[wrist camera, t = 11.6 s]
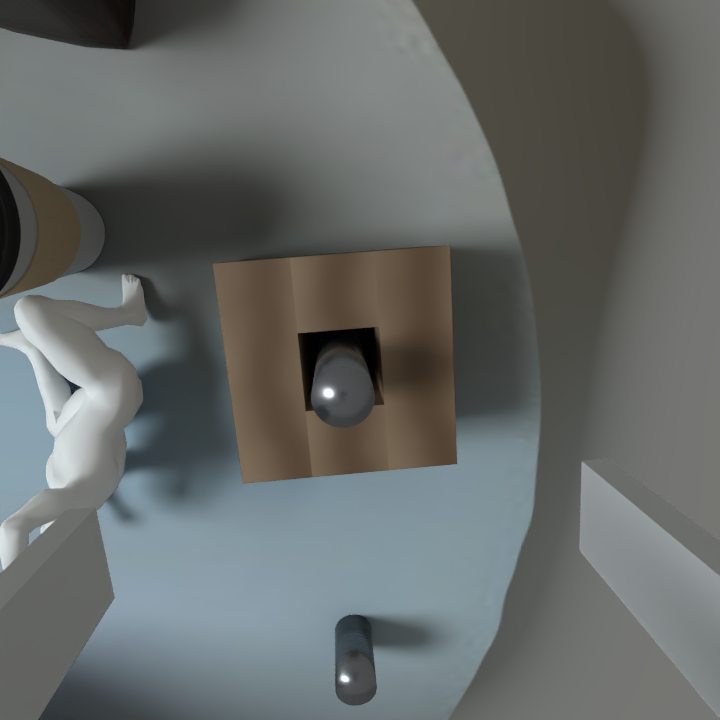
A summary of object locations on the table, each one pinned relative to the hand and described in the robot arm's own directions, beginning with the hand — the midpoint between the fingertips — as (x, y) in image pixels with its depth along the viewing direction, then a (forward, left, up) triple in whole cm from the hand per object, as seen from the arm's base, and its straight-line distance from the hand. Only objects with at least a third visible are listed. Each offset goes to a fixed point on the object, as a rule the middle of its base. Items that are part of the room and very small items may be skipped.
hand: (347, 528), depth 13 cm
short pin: (-1, -26, -26) cm, 36 cm away
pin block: (0, 0, -26) cm, 26 cm away
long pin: (0, 0, -26) cm, 26 cm away
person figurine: (-18, -3, -26) cm, 32 cm away
